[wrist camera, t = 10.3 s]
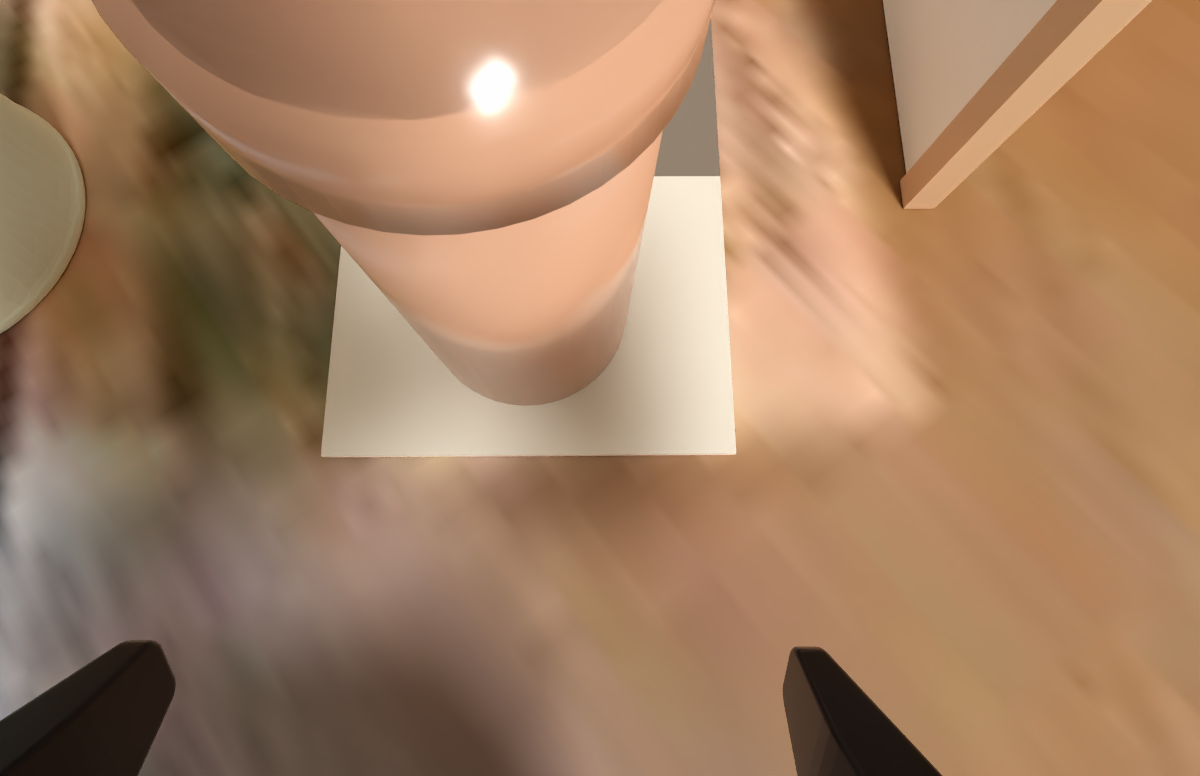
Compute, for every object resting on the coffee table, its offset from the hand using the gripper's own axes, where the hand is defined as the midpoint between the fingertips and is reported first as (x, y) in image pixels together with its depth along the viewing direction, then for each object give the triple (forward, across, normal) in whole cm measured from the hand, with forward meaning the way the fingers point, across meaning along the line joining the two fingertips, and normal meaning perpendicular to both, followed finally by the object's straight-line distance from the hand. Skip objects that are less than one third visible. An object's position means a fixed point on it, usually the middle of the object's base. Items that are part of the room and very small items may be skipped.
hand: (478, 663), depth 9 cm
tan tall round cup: (+12, 0, -1) cm, 12 cm away
